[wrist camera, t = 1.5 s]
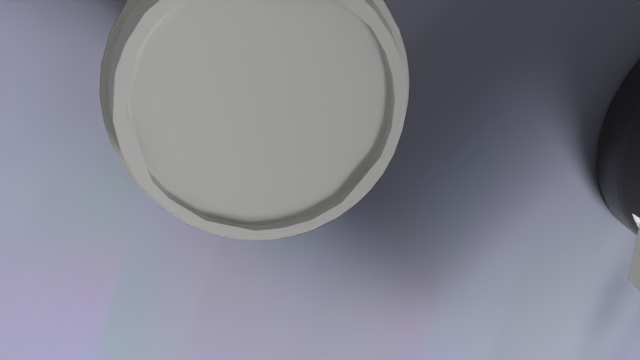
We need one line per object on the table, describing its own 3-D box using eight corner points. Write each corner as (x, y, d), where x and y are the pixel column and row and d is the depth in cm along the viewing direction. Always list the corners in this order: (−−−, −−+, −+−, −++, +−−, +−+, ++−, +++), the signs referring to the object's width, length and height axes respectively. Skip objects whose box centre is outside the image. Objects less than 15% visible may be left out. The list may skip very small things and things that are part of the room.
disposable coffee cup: (158, -116, 25) (129, -114, 15) (367, -44, 28) (471, 1, 17) (115, 97, 29) (67, 222, 18) (305, 143, 32) (360, 275, 21)
